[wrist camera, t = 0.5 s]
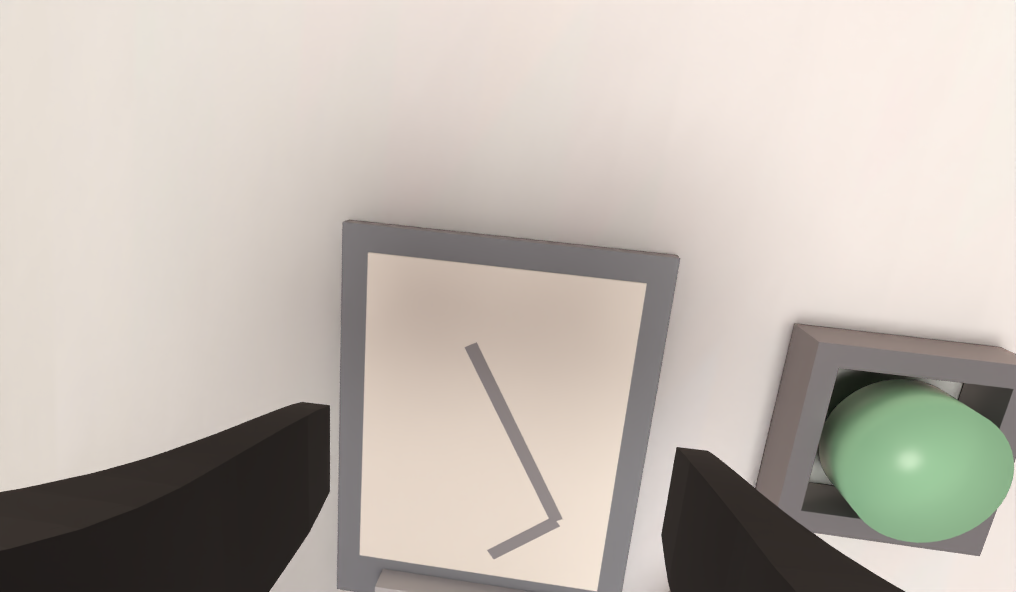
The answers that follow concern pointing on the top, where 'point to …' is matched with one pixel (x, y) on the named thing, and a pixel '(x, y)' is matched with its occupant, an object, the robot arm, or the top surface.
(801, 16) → the top surface
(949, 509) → the button
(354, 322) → the clipboard
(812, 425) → the button housing
